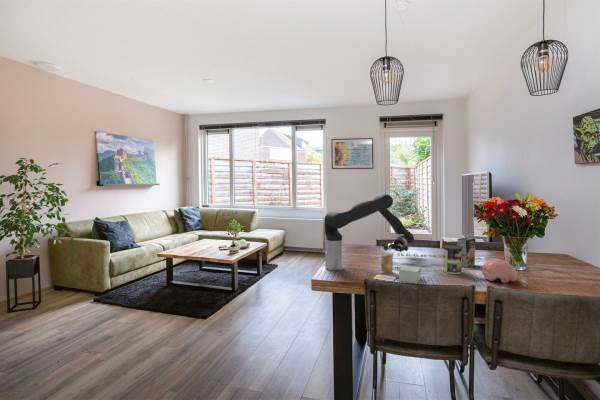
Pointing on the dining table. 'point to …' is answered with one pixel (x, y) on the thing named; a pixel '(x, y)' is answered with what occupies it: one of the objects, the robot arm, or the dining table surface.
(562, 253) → the dining table surface
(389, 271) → the tan cylinder
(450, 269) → the coffee can
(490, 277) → the pink piggy bank
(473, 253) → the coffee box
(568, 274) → the dining table surface
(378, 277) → the page
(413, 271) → the base brick
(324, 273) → the dining table surface
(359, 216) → the robot arm
